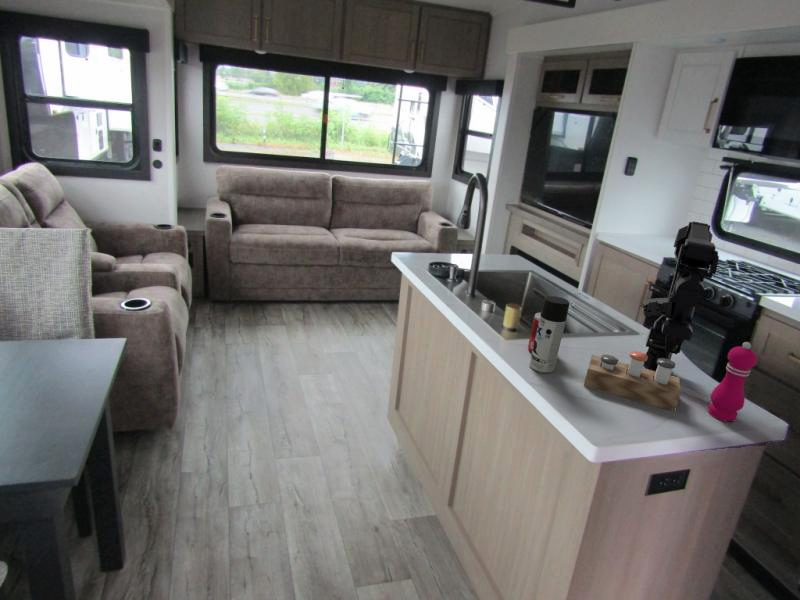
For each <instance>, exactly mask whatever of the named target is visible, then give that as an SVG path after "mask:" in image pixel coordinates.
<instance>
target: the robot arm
mask: <svg viewBox="0 0 800 600" xmlns="http://www.w3.org/2000/svg"><path fill="white" fill-rule="evenodd" d="M710 230H711V225H710V224H709V223H706V222H705V223H704V222H699V221H698V222H697V221H689V222H688V225H686V226H684V227H683V226H682V227H681V228H679V229H678V231H677V234H676V235H675V239H674V243H673V248H675V249H674V257H675V260H676V265H675V271H674V274H673V278H672V283H671V286H670V289H669V292H668V293H669V294H668V297H655V298H647V299H643V302H642V308H643V309H642V310H643V316H644V317H651V316H659V317H658V318H657V319H656V320H655V321H654V323H653V326H650V329H649V331H648V334H647V337H646V342H645V347H647V348H648V349H647V351H646V353H645V354H646V355H647V356H648V358H647V361H644V365H643V367H646V369H648V370H652V371H656V370H657V367H658V364H657V360H658V358H665V359H669V360H671V361H672V356H673V354H675V355H678V354H680V352H681V350H682V348H683V346H684V343H685V341H691V339H692V337H693V334H694V333H693V328H692V326H691V325H690V324H691V323H692V321H693V315H694V312H695V308H697V307H698V304H700V303H701V302H702V301H703V300H704V298H705V294H706V293H705V291H706V290H705V286H704V280H705V278H709V279H712V278H713V275H715V274H716V272H717V270H718V266H719V265H718V264H719V258H720V255H719V250H716V245H715V243H714V242H712V238H713V234H712V232H711V231H710Z"/></svg>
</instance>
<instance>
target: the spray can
mask: <svg viewBox="0 0 800 600" xmlns="http://www.w3.org/2000/svg"><path fill="white" fill-rule="evenodd" d="M570 305H571V304H570V301H569V300H568V299H566V298H564V297H560V296H553V295H547V296H544V299H543V303H542V307H541V310H540V311H541V315H540V319H539V324H538V328H537V333H536V337H535V342H534V346H533V351H532V353H531V356H530V360H529V365H530V368H531V369H532V370H533V371H535V372H537V373H541V374H551V373H553V371H554V370H555V367H556V364H557V358H558V354H559V350H560V346H561V342H562V338H563V334H564V330H565V325H566V321H567V317H568V312H569V307H570Z"/></svg>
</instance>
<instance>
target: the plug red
mask: <svg viewBox="0 0 800 600" xmlns="http://www.w3.org/2000/svg"><path fill="white" fill-rule="evenodd" d="M629 357H630V361H629V363H628V364H629V368H628V371H627V374H628V375H632V376H636V377H639V378H640V375H641V371H642V368H644V361H647V358H648V356H647V355H646V353H644V352H641V351H638V350H637V351H636V350H632V351H630V353H629Z"/></svg>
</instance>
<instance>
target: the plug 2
mask: <svg viewBox="0 0 800 600" xmlns="http://www.w3.org/2000/svg"><path fill="white" fill-rule="evenodd" d="M657 364H658V367H657V370H656V373H655V377H654V380H653V381H654V382H658V383H661V384H665V385H667V384H668V380H669V377H670V375H671V373H672V372H673V369H675V367H676V365H677V364H676V362H675V361H673V360H672V359H671V360H669V359H665V358H658V360H657Z"/></svg>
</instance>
